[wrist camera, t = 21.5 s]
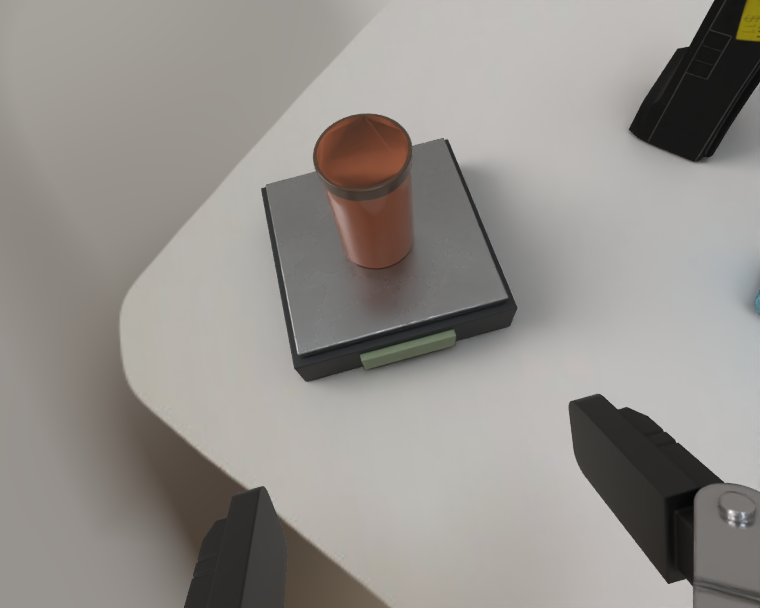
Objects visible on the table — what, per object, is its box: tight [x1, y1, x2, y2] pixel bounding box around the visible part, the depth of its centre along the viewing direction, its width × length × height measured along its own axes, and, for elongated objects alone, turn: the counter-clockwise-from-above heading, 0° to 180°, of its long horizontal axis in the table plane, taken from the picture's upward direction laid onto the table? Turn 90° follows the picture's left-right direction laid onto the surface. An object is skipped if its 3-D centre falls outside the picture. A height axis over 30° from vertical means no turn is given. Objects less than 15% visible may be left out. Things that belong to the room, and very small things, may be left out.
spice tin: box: [313, 114, 415, 268], centre depth 28 cm, size 5×5×8 cm
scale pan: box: [266, 138, 508, 358], centre depth 32 cm, size 13×13×1 cm
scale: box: [261, 139, 517, 381], centre depth 34 cm, size 14×14×3 cm
